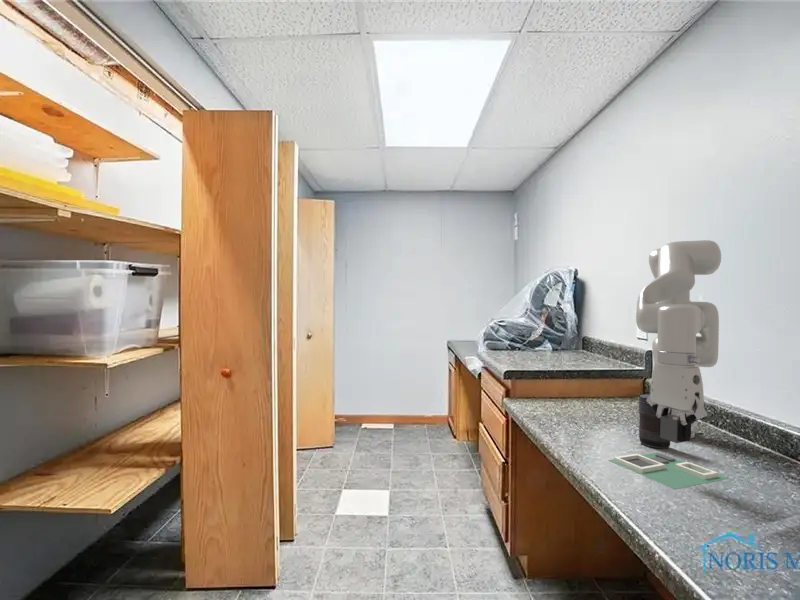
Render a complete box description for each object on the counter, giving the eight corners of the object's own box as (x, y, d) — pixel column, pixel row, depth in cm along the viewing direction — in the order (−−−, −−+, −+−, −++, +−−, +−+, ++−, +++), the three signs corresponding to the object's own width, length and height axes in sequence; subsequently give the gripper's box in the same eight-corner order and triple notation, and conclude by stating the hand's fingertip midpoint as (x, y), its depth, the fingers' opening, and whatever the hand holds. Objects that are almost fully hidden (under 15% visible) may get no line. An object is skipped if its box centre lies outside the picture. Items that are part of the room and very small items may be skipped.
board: (657, 456, 118) (657, 448, 118) (728, 483, 101) (729, 473, 101) (607, 464, 111) (607, 456, 111) (674, 494, 94) (675, 484, 94)
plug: (672, 435, 103) (672, 412, 103) (688, 441, 99) (689, 416, 99) (660, 437, 102) (660, 413, 102) (676, 443, 98) (677, 418, 98)
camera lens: (643, 442, 130) (644, 392, 130) (674, 449, 124) (675, 397, 124) (634, 448, 124) (635, 396, 124) (666, 456, 119) (667, 401, 119)
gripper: (725, 363, 94) (723, 448, 94) (654, 353, 109) (653, 425, 110) (701, 365, 91) (699, 452, 91) (632, 354, 107) (631, 428, 107)
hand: (674, 437), depth 101 cm, fingers closed on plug, 4 cm apart
